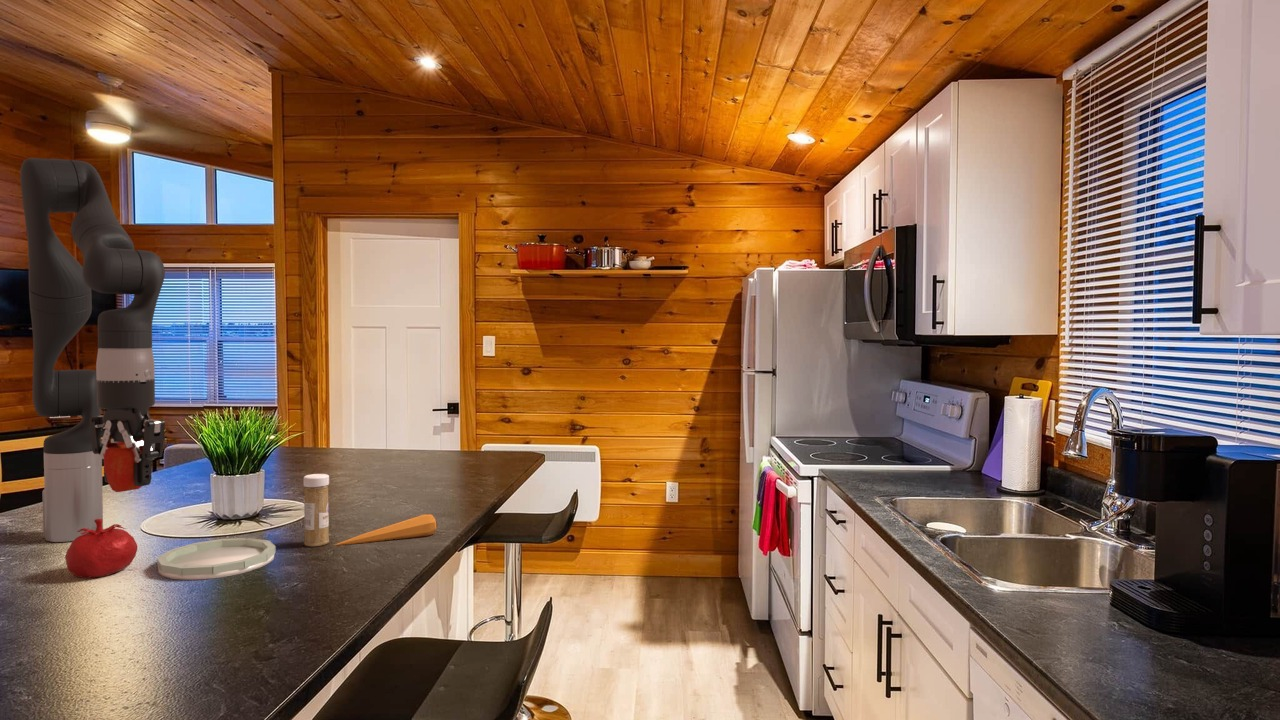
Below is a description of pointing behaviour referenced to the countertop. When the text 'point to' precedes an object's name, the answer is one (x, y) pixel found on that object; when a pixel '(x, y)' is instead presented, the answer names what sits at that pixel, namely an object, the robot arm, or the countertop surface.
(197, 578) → the dish
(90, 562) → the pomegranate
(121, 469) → the apple
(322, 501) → the spice jar
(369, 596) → the countertop surface
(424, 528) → the carrot
